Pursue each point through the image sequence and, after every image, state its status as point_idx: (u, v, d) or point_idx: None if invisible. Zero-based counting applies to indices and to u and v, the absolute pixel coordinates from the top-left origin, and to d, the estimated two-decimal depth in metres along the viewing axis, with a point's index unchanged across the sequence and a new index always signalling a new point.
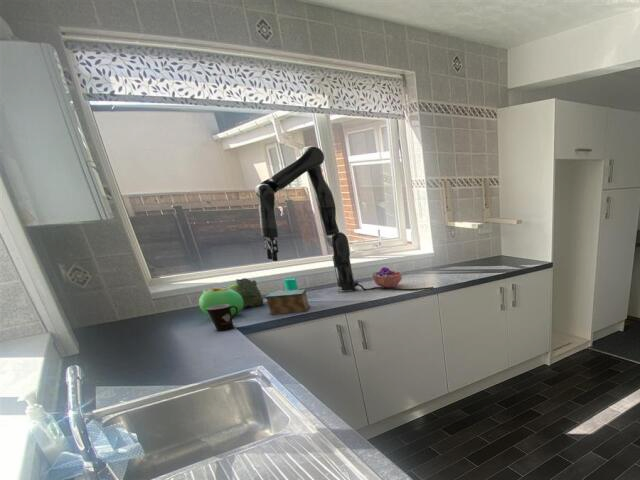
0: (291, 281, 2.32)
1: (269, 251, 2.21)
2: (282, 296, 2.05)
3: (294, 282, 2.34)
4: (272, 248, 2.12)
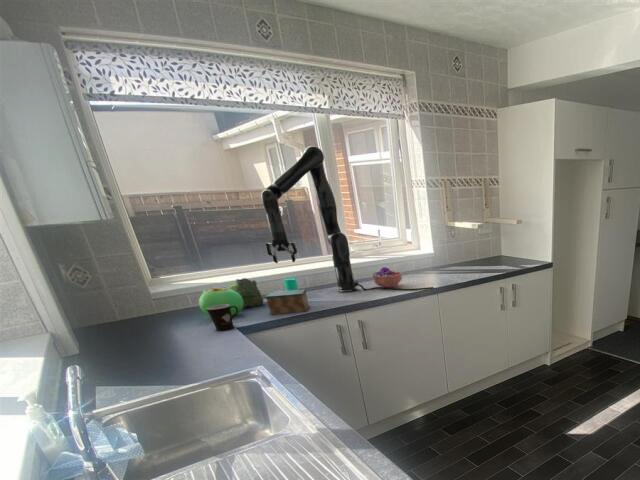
0: (291, 281, 2.32)
1: (275, 255, 2.27)
2: (282, 296, 2.05)
3: (294, 282, 2.34)
4: (294, 250, 2.27)
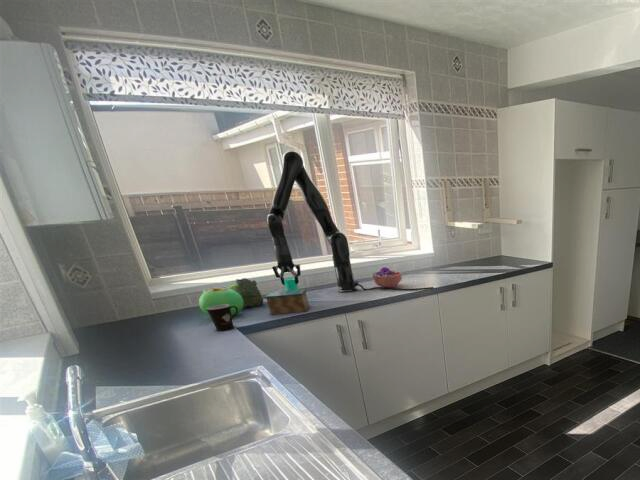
0: (291, 281, 2.32)
1: None
2: (282, 296, 2.05)
3: (294, 282, 2.34)
4: (298, 272, 2.32)
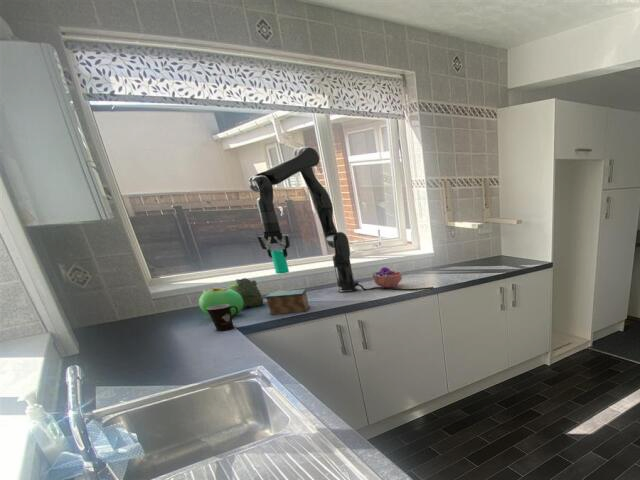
0: (279, 253, 2.08)
1: None
2: (282, 296, 2.05)
3: (282, 255, 2.10)
4: (287, 243, 2.09)
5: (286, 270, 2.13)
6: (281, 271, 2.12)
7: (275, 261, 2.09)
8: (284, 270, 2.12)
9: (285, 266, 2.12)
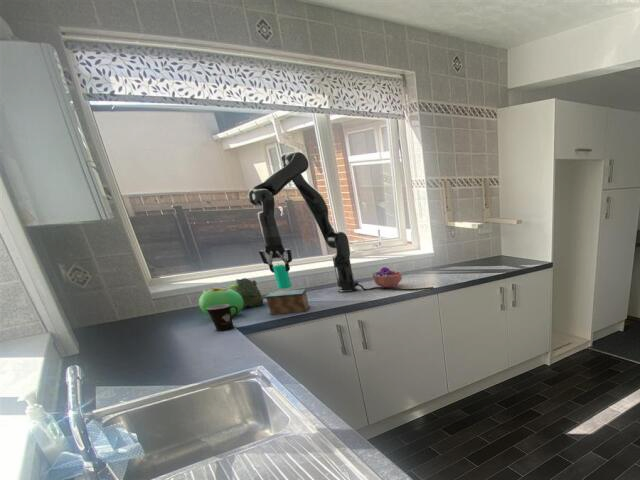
0: (281, 268, 2.02)
1: (271, 263, 2.03)
2: (282, 296, 2.05)
3: (284, 269, 2.04)
4: (289, 258, 2.03)
5: (288, 285, 2.07)
6: (283, 286, 2.06)
7: (277, 276, 2.03)
8: (286, 285, 2.06)
9: (287, 280, 2.06)
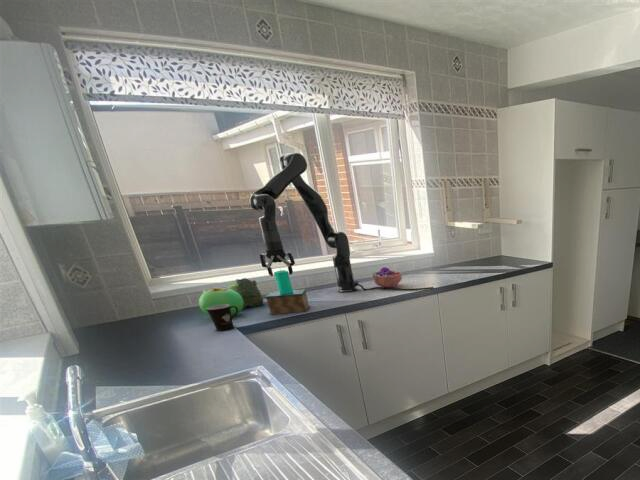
0: (282, 274, 2.04)
1: (270, 267, 2.03)
2: (282, 296, 2.05)
3: (286, 275, 2.05)
4: (292, 261, 2.03)
5: (290, 290, 2.08)
6: (285, 291, 2.07)
7: (279, 282, 2.05)
8: (288, 291, 2.07)
9: (289, 286, 2.07)
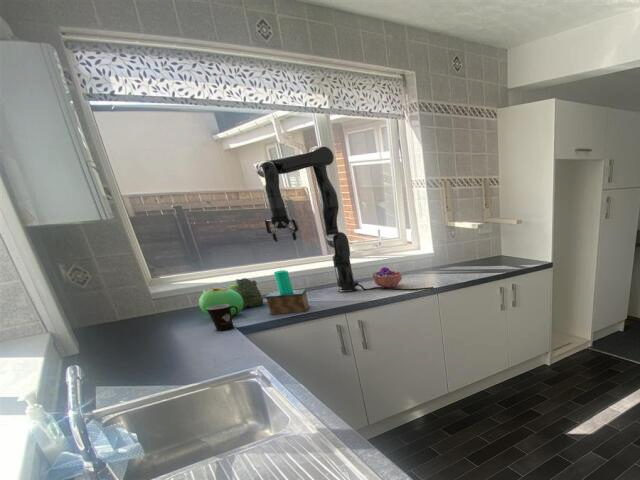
0: (282, 274, 2.04)
1: None
2: (282, 296, 2.05)
3: (286, 275, 2.05)
4: (295, 227, 2.13)
5: (290, 290, 2.08)
6: (285, 291, 2.07)
7: (279, 282, 2.05)
8: (288, 291, 2.07)
9: (289, 286, 2.07)
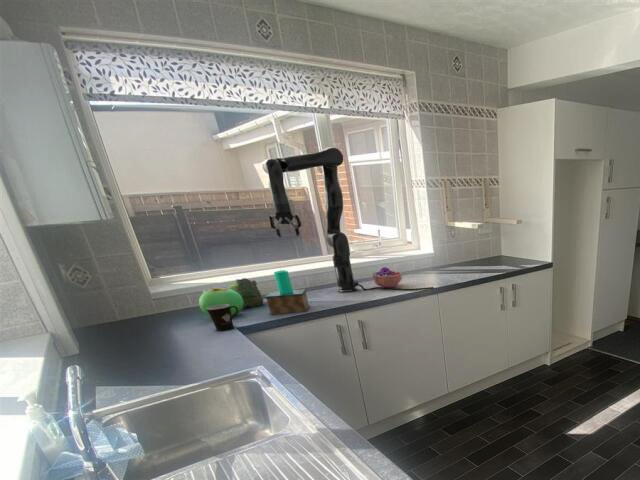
0: (282, 274, 2.04)
1: (278, 228, 2.19)
2: (282, 296, 2.05)
3: (286, 275, 2.05)
4: (299, 223, 2.19)
5: (290, 290, 2.08)
6: (285, 291, 2.07)
7: (279, 282, 2.05)
8: (288, 291, 2.07)
9: (289, 286, 2.07)
